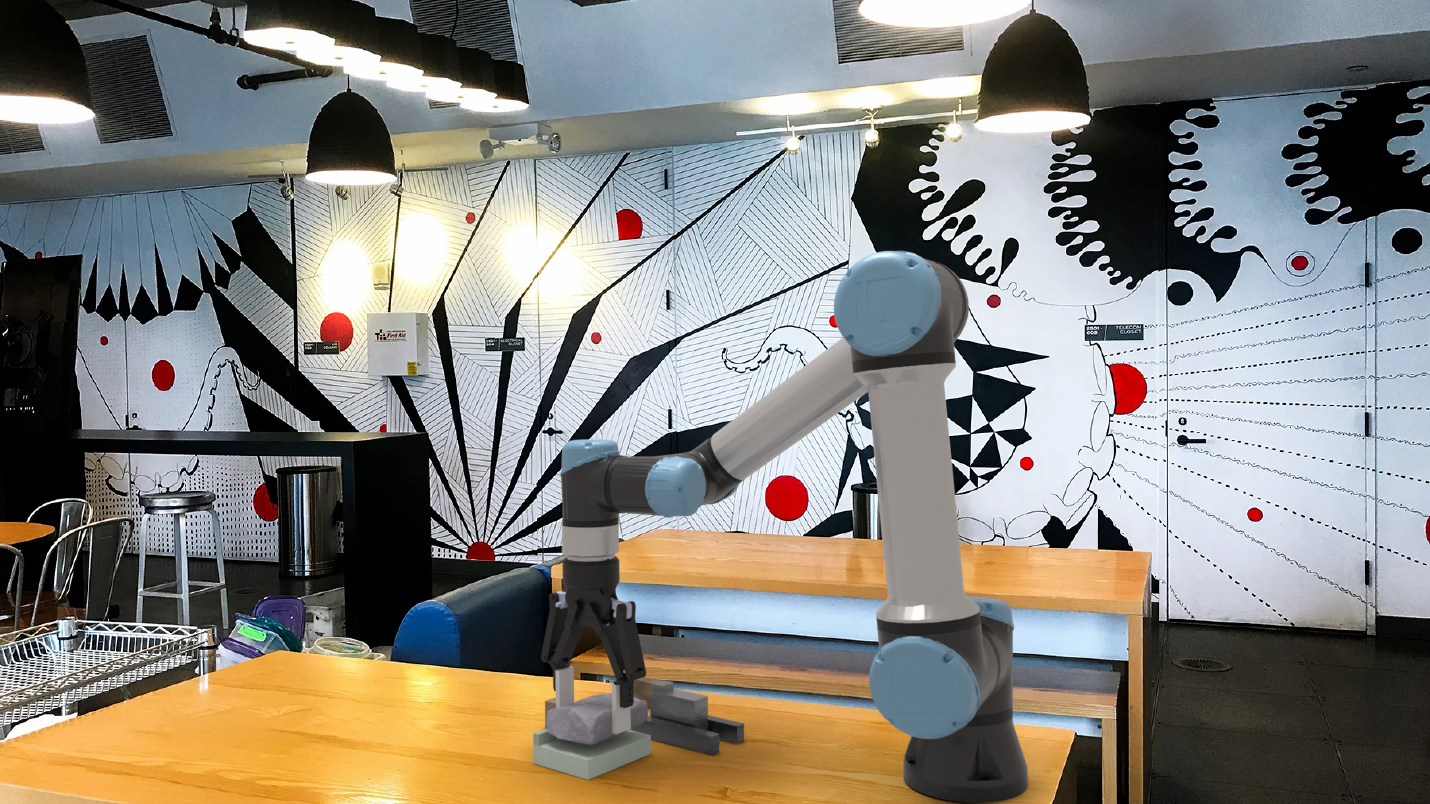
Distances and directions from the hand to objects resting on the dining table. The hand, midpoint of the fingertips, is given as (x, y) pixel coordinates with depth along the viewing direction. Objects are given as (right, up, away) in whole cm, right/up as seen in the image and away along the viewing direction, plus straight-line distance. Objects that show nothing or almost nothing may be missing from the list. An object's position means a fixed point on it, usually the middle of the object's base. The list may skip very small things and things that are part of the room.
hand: (592, 723), depth 146 cm
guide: (+12, -4, +9) cm, 15 cm away
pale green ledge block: (0, -5, 0) cm, 5 cm away
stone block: (0, -1, 0) cm, 1 cm away
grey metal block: (+11, -4, +9) cm, 15 cm away
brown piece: (+1, -4, +17) cm, 18 cm away
